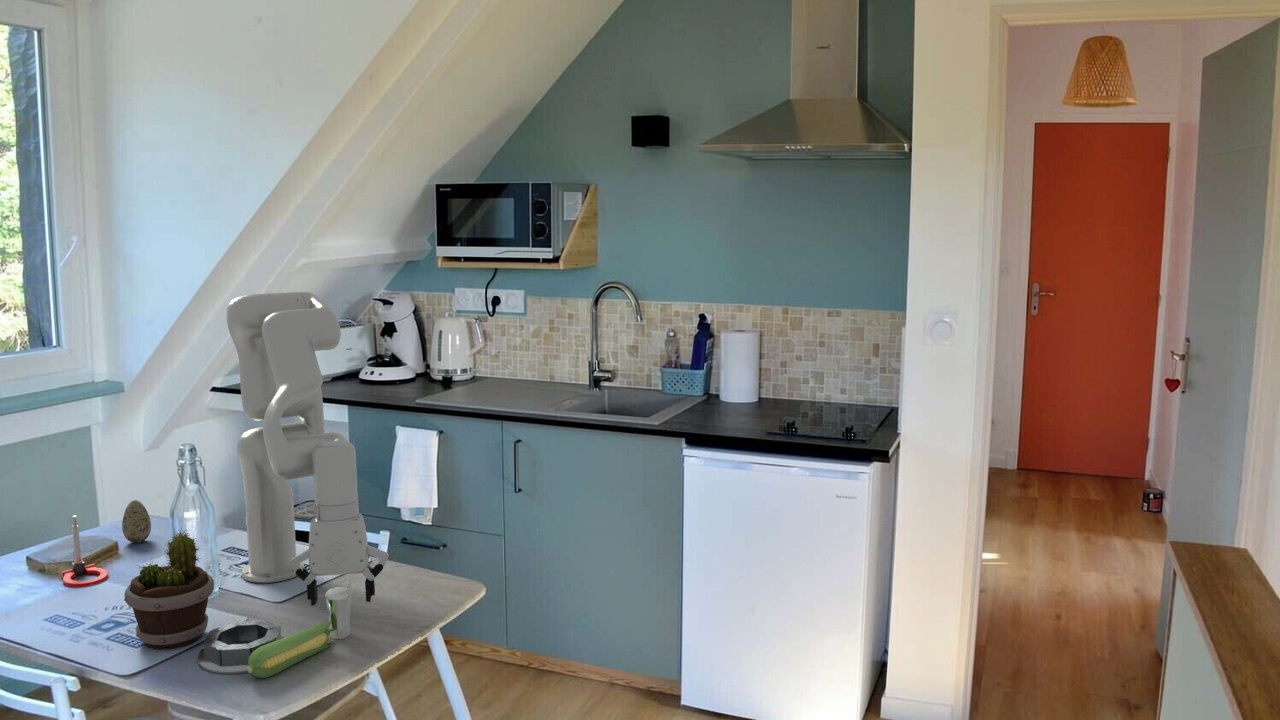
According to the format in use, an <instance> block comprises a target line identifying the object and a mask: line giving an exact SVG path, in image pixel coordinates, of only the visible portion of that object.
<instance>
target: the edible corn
mask: <svg viewBox="0 0 1280 720" xmlns="http://www.w3.org/2000/svg"><path fill="white" fill-rule="evenodd" d="M331 623H332V621H329V620H325V621H323V622H320V623H318V624H316V625H313V626H310V627H308V628H306V629H304V630H303V629H302V630H301V631H298V632H296V633H293V634H290V635H288V636H285V637H284V638H283V639H280V640H277V641H274V642H271V643H269V644H266V645H264V646H261V647H259V648H257V649H256V650H255V651H253V652H252V653H251V655H250V656H249V658H248V663H247V664H248V667H247V671H248V673H249V674H250V675H251V676H252V677H256V678H260V679H267V678H271V677H273V676H275V675H277V674H279V673H281V672H283V671H285V670H286V669H289V668H290V667H292V666H294V665H295V664H297V663H299V662H301V661H302V662H303V660H305V659H307V658H310V657H311V656H314V655H315V654H318V653H319V652H321V651H323V650H326V649H328V648H329V647H331V644H330V643H332V640H331V639H329V638H328V637H329V636H330V635H331V634H330V632H331V630H330V624H331ZM328 627H329V628H328ZM248 673H247V674H248Z"/></svg>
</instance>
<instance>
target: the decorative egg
mask: <svg viewBox="0 0 1280 720" xmlns="http://www.w3.org/2000/svg"><path fill="white" fill-rule="evenodd" d="M122 517H123V518H122V523H121V528H122V533H123V535H124V537H125V539H126V540H127V541H129V542H130V543H133V544H139V543H142V542H145V541H146V539H148V538H149V536H150V533H151V531H152V522H151V518H150V515H149V512H148V511H147V509H146V507H145V505H144V504H143V503H142V502H141V501H139V500H138V499H137V500H136V499H135V500H131V501H130V502H129V503H128V504H127V506H126V508H125V510H124V512H123V516H122Z"/></svg>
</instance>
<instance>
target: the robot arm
mask: <svg viewBox="0 0 1280 720" xmlns="http://www.w3.org/2000/svg"><path fill="white" fill-rule="evenodd" d="M226 324H227V329H228V331H229V334H230V338H231V339H232V342H233V344H234V347H235V349H236V352H237V357H238V366H239V381H240V395H241V396H240V397H241V405H242V410H243V414H244V415H245V417H246V418H247V419H248V420H251V421H256V422H259V421H261V422H262V421H263V422H262V424H263V425H262V426H259V427H255V428H251V429H248V430H247V431H245V432H243V433H242V434H241V435H240V436H239V438H238V440H237V444H236V451H237V457H238V461H239V465H240V470H241V474H242V479H243V480H242V482H243V489H244V502H245V517H246V519H245V520H246V521H245V522H246V536H247V540H246V541H247V554H248V555H247V556H248V564H246V565H245V566H244V567H243V568H242V569H241V577H242V578H243V579H244V580H245V581H248V582H253V583H260V584H262V583H263V584H265V583H267V584H268V583H278V582H283V581H287V580H291V579H293V578H296V577H298V578H299V579H301V581H303V582H304V584H305V585H306V594H307V595H306V596H307V597H306V598H307V600H308V601H310V606H311V607H313V606H316V605H317V601H318V597H319V596H318V583H317V582H318V581H317V580H316V577H317V576H319V577H320V576H321V577H324V576H339V575H353V574H354V575H355V574H360V573H361V574H362V575H363V576H364V577H365V581H364V584H365V602H367V603H370V602H371V600H372V597H373V596H375V595H376V590H375V589H376V587H375V586H376V585H375V584H376V583H375V578H376V577H378V575H380V573H381V572H382V571H383V570H384V568H385V566H386V563H387V561H388V559H389V553H388V552H386V551H385V550H382V549H379V548H376V547H374V546H372V545H371V544H370V545H369V543H368V537H367V536H368V534H367V529H366V524H365V519H364V515H363V514H362V513H360V512H359V509H360V508H359V495H358V494H359V493H358V474H357V472H358V471H357V470H358V469H357V454H356V453H357V451H356V447H355V445H354V444H353V443H351V442H349V440H348V439H347V438H346V437H345V436H344V435H343V434H341V433H340V432H325V416H324V401H323V393H322V388H321V387H322V386H323V381H324V379H323V374H322V371H321V369H320V365H319V364H320V363H319V361H318V357H317V354H316V352H320V351H330V350H334V349H335V348H337V347H338V345H339V344H340V342H341V341H340V340H341V338H342V337H341V335H342V334H341V326H340V322H339V320H338V317H337V315H336V314H335V313H334V311H333V310H332V308H331V307H330V306H329V305H328V304H326V303H325V302H324V301H323V300H322V299H321V298H319V296H318V295H316V294H314V293H312V292H307V291H293V292H291V291H289V292H274V293H272V292H270V293H269V292H268V293H255V294H246V295H243V296H242V295H241V296H238V297H235V298H234V299H232V300H231V301H230V302H229V303H228V306H227V309H226ZM291 418H297V419H298V422H292V423H291V422H290V423H283V424H282V419H291ZM310 477H312V478H313V499H314V502H313V503H312V504H310V505H308V504H307V505H306V508H305V509H306V513H310V514H313V515H314V517H312V519H311V520H310V524H309V531H308V532H309V534H308V549H306V550H305V551H302V552H301V553H299V554H297V545H296V528H295V508H294V491H293V488H292V486H291V485H290V483H288V481H287V480H290V481H291V480H296V479H303V478H310ZM369 556H372V557H375V558H377V559H378V562H377V564H375V566H373V567H372V566H371V565H370V563H369V558H370V557H369ZM307 559H308V569H309V571H308V570H307V569H305V562H304V561H306V560H307Z"/></svg>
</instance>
